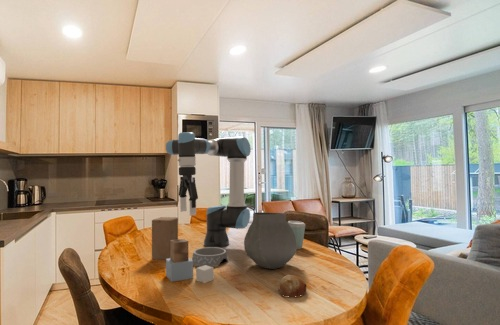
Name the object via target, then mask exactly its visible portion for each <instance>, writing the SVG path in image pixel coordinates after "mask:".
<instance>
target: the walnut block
mask: <svg viewBox="0 0 500 325" xmlns="http://www.w3.org/2000/svg"><path fill="white" fill-rule="evenodd" d="M188 257H189V241H188V240H187V239H185V238H178V239H177V240H170V259H171V260H172V261H173V262H174V263H176V262H183V261H189V258H190V257H189V258H188Z"/></svg>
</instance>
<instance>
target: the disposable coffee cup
mask: <svg viewBox="0 0 500 325" xmlns="http://www.w3.org/2000/svg"><path fill="white" fill-rule="evenodd" d="M287 222H288V224H289V225H290V226H291V228H292V230H293V232H294V234H295V238H296V242H297V249H296V250H301V249H303V245H304V237H305V229H306V223H304V222H302V221H298V220H288V221H287Z"/></svg>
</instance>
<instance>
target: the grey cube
mask: <svg viewBox="0 0 500 325" xmlns="http://www.w3.org/2000/svg"><path fill="white" fill-rule="evenodd" d="M214 267H215V266H214ZM214 267H210V266H207V265H204V266H201V267H200V266H197V267H196V268H195V277H196V278H195V280H196V281H198V282H199V283H200V282H201V283H203V284H206V283H208V282H211V281H214V279H215V278H214V277H215V276H214V275H215V274H214V271H215V270H214V269H215V268H214Z"/></svg>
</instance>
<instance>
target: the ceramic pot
mask: <svg viewBox="0 0 500 325" xmlns="http://www.w3.org/2000/svg"><path fill="white" fill-rule="evenodd" d="M243 240H244V241H243V248H244V251H245V253H246V255H247V257H248V258H250V259H251V260H252V261H253V262H254V263H255V265H256V266H259V267H260V268H264V269H273V270H275V269H280V268H281V267H283V266H285V265H286V264H287V263H289V262H290V261H291V260H292V259H293V257H294V256H295V255H296V252H297V250H298V249H297V242H296V238H295V234H294V232H293V230H292V228H291V226H290V225H289V224H288V221H287V214H286V213H285V212H265V211H264V212H262V211H261V212H260V211H259V212H253V213H252V222H251V224H250V225H249V227H248V229H247V231H246V234H245V236H244V239H243Z"/></svg>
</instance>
